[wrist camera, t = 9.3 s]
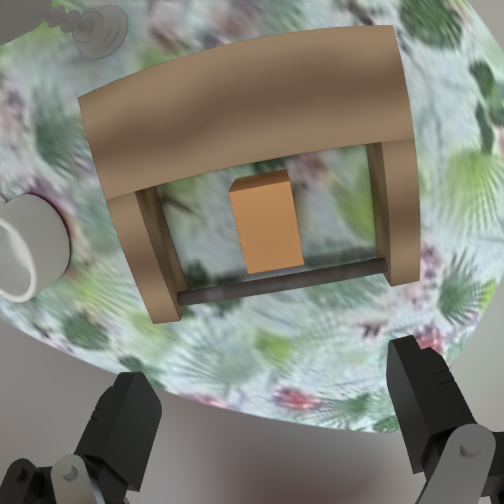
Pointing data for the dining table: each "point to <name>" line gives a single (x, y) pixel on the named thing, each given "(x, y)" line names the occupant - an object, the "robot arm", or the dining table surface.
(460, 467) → the robot arm
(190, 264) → the dining table surface
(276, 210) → the tall cardboard carton
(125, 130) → the shelf
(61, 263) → the mug
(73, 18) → the chalice
